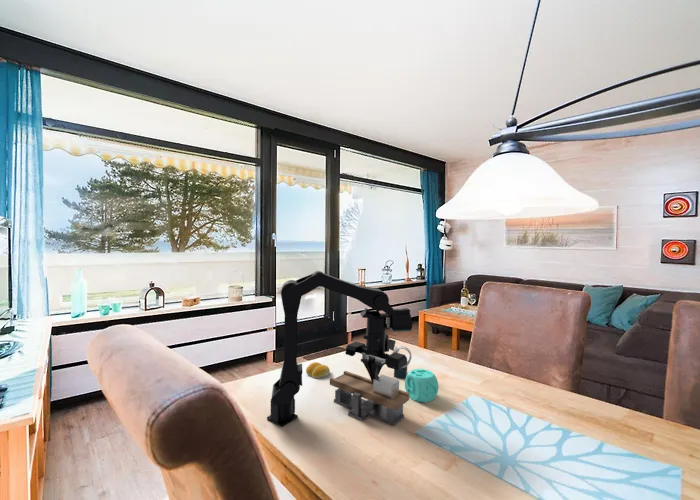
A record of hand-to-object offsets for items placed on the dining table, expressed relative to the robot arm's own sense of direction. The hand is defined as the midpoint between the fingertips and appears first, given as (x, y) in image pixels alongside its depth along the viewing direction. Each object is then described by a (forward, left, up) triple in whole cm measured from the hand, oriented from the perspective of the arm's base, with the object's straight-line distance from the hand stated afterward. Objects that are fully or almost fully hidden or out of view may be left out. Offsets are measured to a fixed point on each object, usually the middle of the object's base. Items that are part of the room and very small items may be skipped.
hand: (374, 382), depth 105 cm
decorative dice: (+18, -7, -9) cm, 21 cm away
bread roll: (+10, +32, -9) cm, 35 cm away
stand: (0, +2, -9) cm, 9 cm away
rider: (0, -4, -3) cm, 5 cm away
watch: (+29, +7, -9) cm, 31 cm away
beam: (0, +2, -3) cm, 4 cm away
